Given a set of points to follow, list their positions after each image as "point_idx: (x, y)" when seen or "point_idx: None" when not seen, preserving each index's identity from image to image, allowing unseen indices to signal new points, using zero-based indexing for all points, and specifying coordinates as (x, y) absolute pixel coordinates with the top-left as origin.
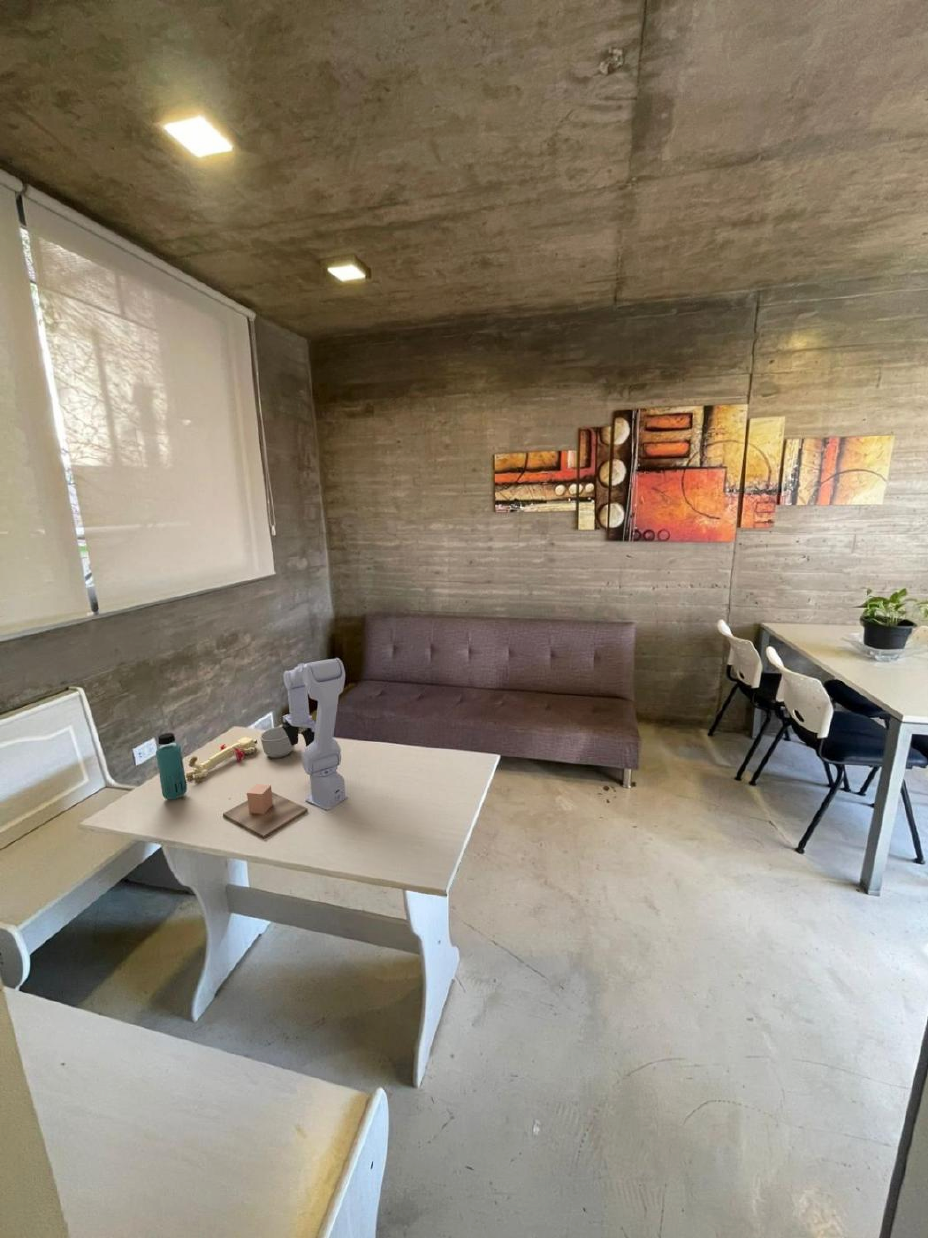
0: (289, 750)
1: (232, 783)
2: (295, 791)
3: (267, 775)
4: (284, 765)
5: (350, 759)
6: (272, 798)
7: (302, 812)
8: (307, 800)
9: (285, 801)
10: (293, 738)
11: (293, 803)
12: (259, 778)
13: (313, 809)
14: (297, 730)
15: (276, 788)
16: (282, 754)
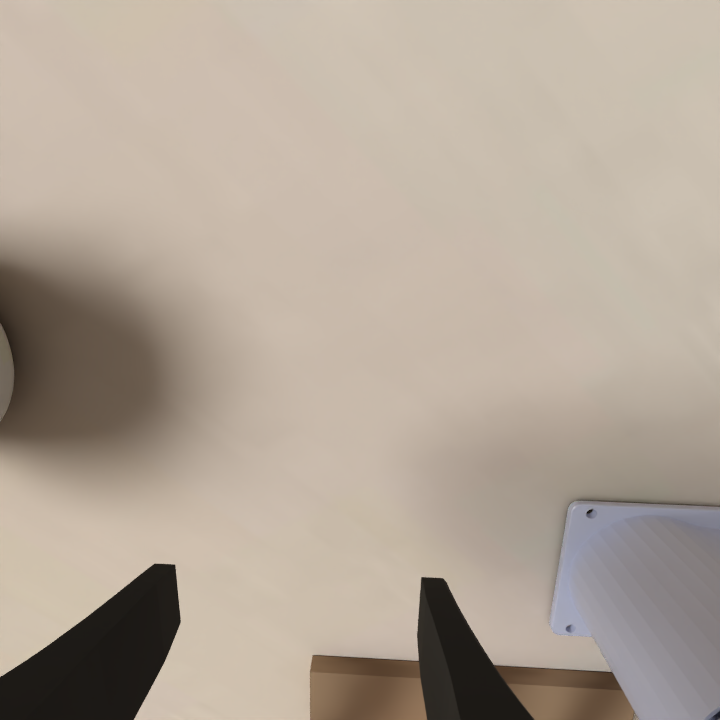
0: (3, 352)
1: None
2: None
3: (152, 553)
4: (124, 436)
5: (458, 130)
6: (403, 706)
7: (631, 712)
8: (574, 635)
9: None
10: (132, 681)
11: (537, 692)
12: None
13: None
14: (54, 706)
15: (315, 612)
16: (10, 399)
